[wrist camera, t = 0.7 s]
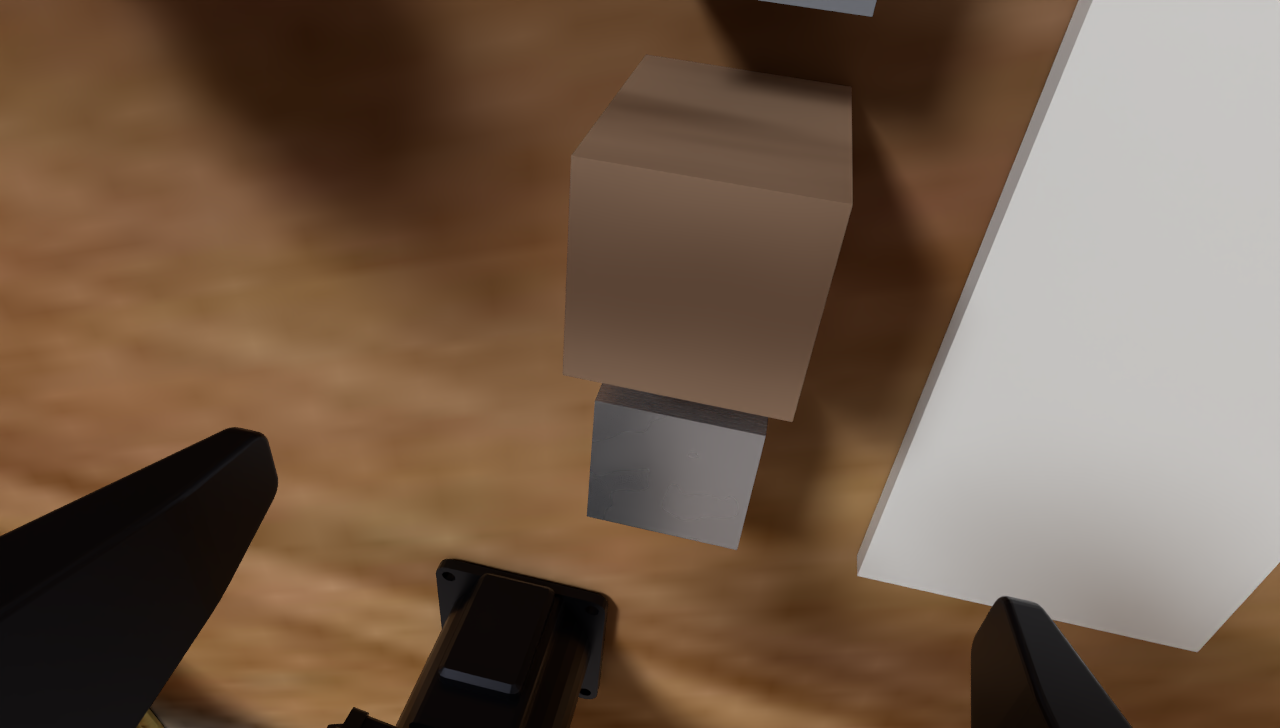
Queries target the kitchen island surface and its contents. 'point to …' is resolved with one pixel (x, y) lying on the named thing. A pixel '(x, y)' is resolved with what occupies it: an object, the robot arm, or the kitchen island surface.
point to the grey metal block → (673, 465)
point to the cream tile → (1114, 343)
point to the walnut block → (707, 234)
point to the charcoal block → (835, 5)
